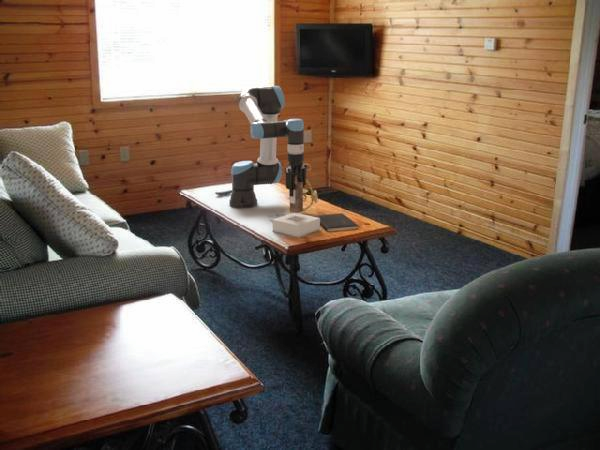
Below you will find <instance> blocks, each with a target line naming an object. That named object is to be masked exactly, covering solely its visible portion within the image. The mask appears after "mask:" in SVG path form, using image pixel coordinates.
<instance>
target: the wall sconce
mask: <svg viewBox="0 0 600 450" xmlns="http://www.w3.org/2000/svg"><path fill="white" fill-rule="evenodd" d="M305 164H306V165H307V166H308V167H309V168H306V171H308V172H310V171H311V170H312V166H311V164H310V163H305ZM306 184H307V185H308V187H309V189H310V192H311V195H310V199H311V201H310V204H309V205H307V206H306V207H303V211H306V210H308V209H309V208H311V207H312V206H313V205H314V204H313V203H315V204H318V193H317V190H316V189H315V190H313V188H312V185H311V183H310V182H309V180H308V179H307V178H306ZM309 189H304V188H303V197H304V198H303V203H305V202H306V201H307V198H308V197H307V195H306V194H307V193H308V192H309Z"/></svg>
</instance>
